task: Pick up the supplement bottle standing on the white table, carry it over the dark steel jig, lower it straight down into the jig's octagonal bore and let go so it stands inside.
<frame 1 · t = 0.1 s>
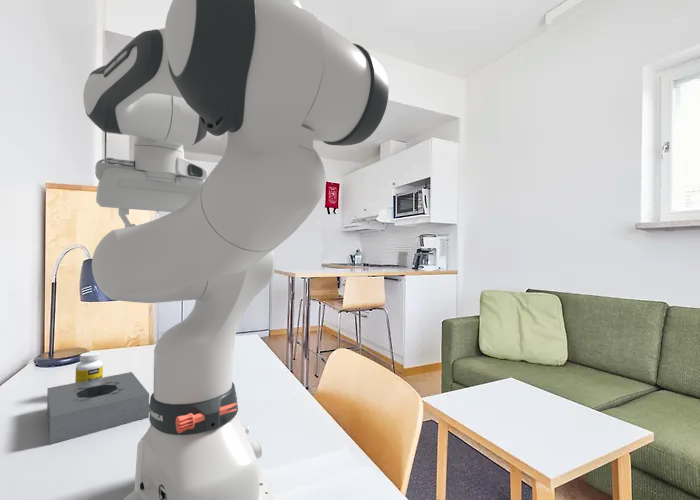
hand: (156, 234, 71), 39 cm above the table, tool pointing down, fingers open, 8 cm apart
steel jig: (97, 414, 76), on the table
supplement bottle: (89, 394, 87), on the table
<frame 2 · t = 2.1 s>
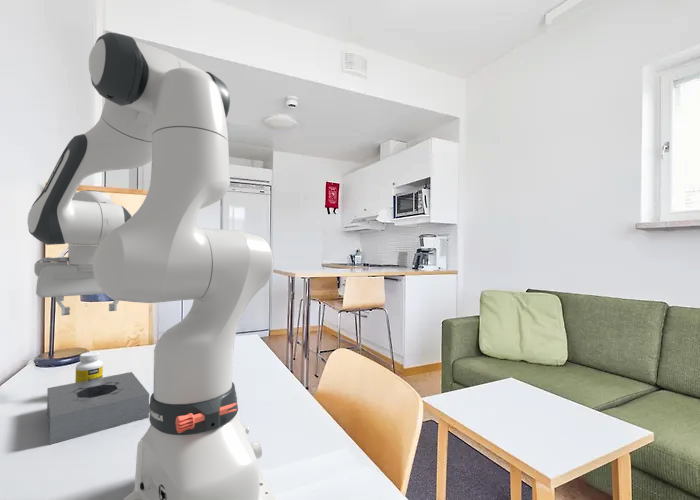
hand: (89, 312, 87), 20 cm above the table, tool pointing down, fingers open, 8 cm apart
nothing on the table moved.
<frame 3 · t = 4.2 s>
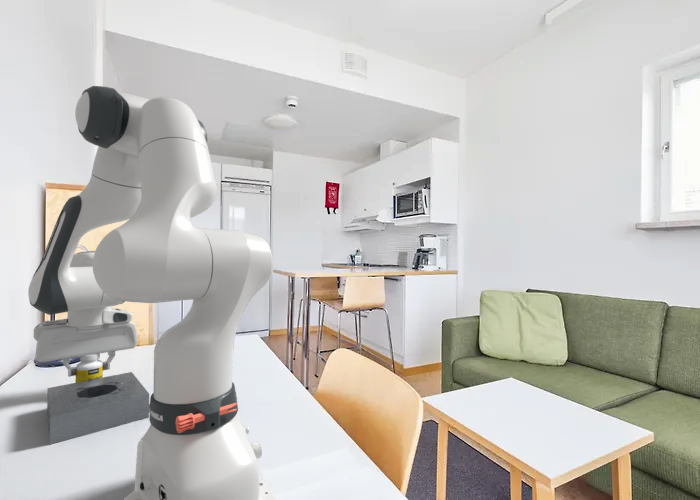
hand: (89, 372, 87), 5 cm above the table, tool pointing down, fingers closed on supplement bottle, 5 cm apart
supplement bottle: (89, 393, 87), on the table, touching gripper
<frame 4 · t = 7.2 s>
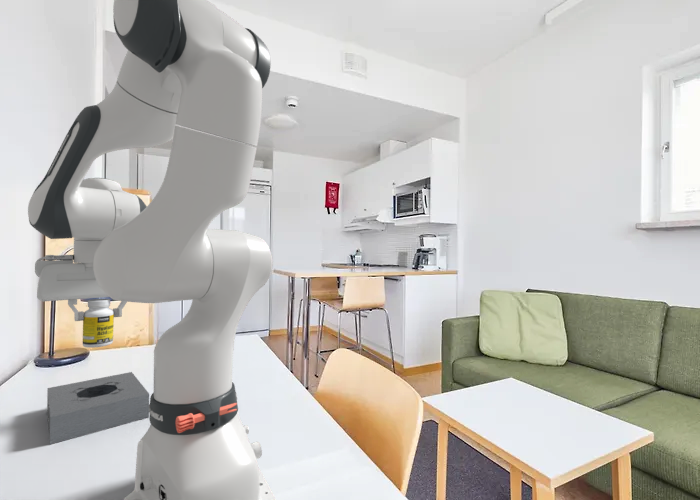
hand: (98, 318, 76), 21 cm above the table, tool pointing down, fingers closed on supplement bottle, 5 cm apart
supplement bottle: (98, 345, 76), point 15 cm above the table, touching gripper
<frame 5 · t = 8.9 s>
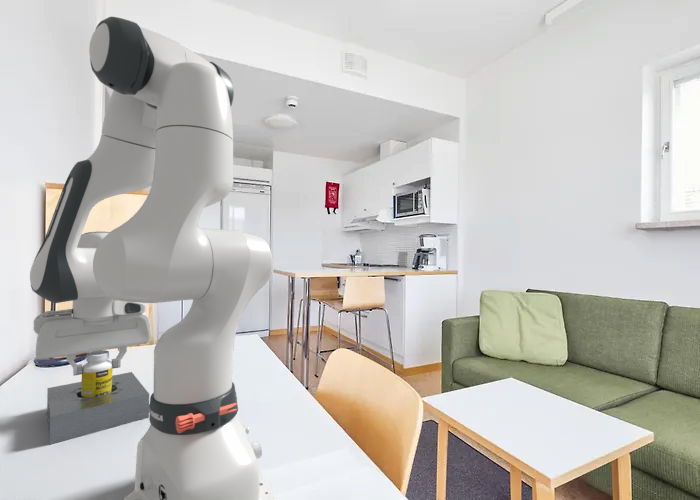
hand: (97, 370, 76), 9 cm above the table, tool pointing down, fingers closed on supplement bottle, 5 cm apart
supplement bottle: (96, 398, 76), point 3 cm above the table, touching gripper
when the fingers open (7 cm above the table, at t = 10.3 s): supplement bottle stays where it is, resting in steel jig.
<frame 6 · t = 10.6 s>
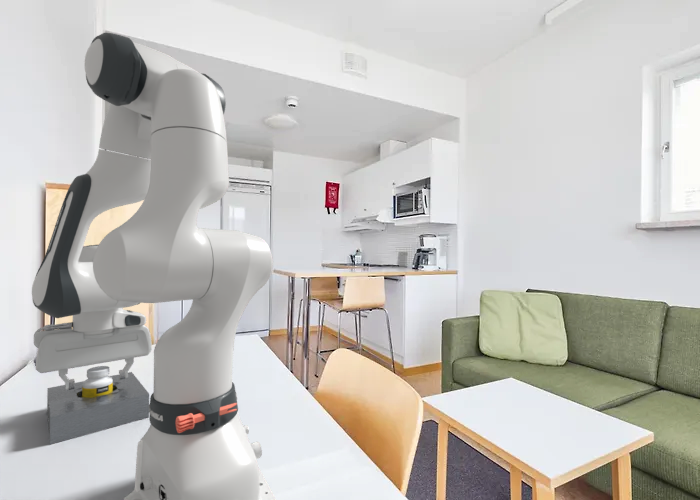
hand: (97, 383, 76), 7 cm above the table, tool pointing down, fingers open, 8 cm apart
supplement bottle: (97, 414, 76), resting in steel jig
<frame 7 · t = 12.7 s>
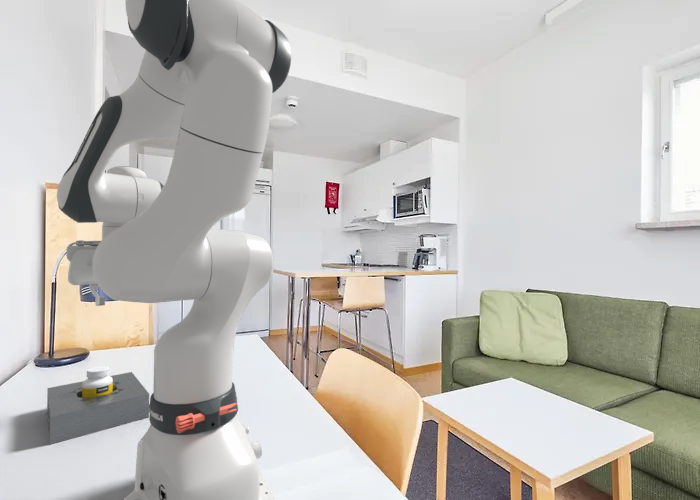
hand: (125, 303, 78), 24 cm above the table, tool pointing down, fingers open, 8 cm apart
nothing on the table moved.
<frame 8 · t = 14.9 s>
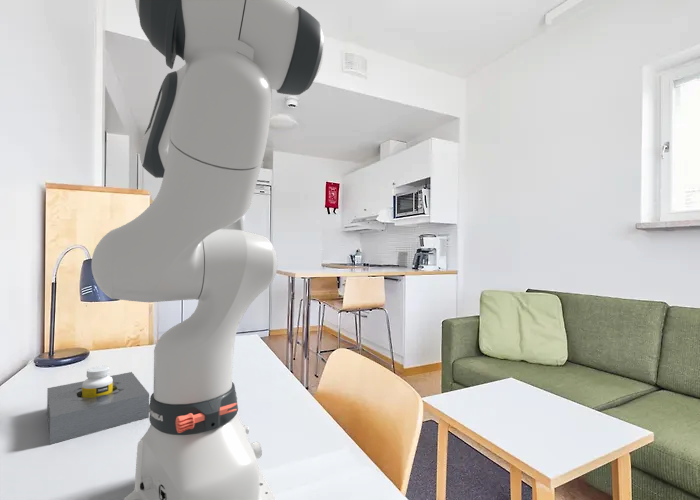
hand: (201, 256, 86), 34 cm above the table, tool pointing down, fingers open, 8 cm apart
nothing on the table moved.
at the end: supplement bottle 0.1 cm from the steel jig (horizontally); supplement bottle resting in steel jig; supplement bottle tilted 0° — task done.
